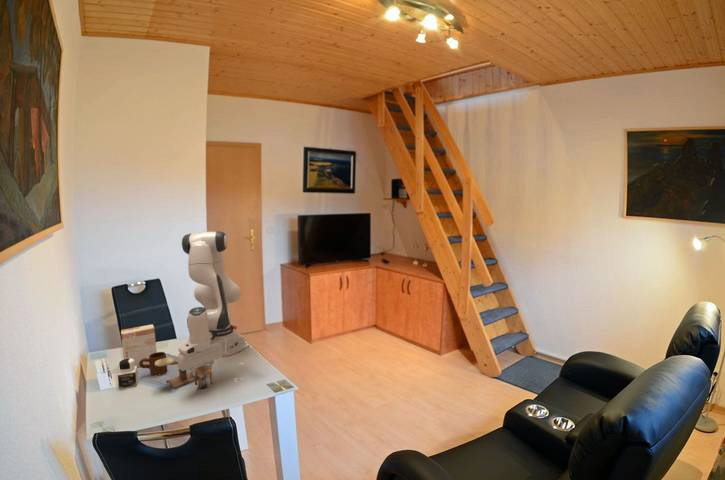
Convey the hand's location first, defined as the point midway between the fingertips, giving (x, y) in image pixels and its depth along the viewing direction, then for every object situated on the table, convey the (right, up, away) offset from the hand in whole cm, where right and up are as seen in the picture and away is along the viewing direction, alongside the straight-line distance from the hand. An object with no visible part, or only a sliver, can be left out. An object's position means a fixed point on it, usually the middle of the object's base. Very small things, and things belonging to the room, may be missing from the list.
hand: (202, 372), depth 182 cm
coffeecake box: (-43, -5, +26) cm, 50 cm away
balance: (-12, -7, +7) cm, 15 cm away
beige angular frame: (+13, -6, +12) cm, 19 cm away
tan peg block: (0, -6, +1) cm, 6 cm away
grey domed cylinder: (0, -7, 0) cm, 7 cm away
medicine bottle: (-36, -7, +5) cm, 37 cm away
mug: (-30, -6, +15) cm, 34 cm away
